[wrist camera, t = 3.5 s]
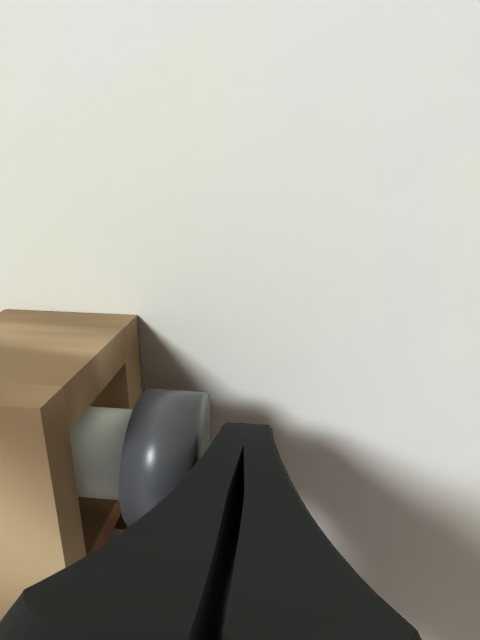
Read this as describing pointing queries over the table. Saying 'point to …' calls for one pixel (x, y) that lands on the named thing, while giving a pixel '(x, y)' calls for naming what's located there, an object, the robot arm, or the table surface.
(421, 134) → the table surface
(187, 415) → the knob
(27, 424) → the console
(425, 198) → the table surface
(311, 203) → the table surface
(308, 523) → the robot arm
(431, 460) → the table surface
